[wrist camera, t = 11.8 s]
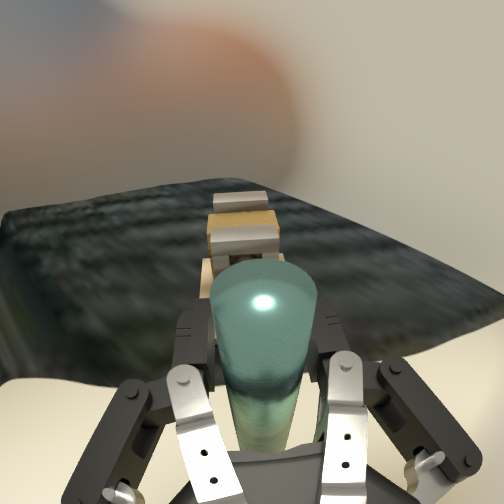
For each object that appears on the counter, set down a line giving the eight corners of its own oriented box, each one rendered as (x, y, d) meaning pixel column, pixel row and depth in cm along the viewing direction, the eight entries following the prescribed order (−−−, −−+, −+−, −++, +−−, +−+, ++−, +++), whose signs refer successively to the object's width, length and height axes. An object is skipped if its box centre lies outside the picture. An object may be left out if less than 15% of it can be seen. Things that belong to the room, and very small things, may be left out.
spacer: (277, 298, 34) (279, 229, 29) (216, 302, 34) (206, 233, 28) (272, 276, 37) (273, 210, 32) (216, 279, 37) (208, 214, 32)
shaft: (288, 462, 16) (329, 325, 8) (241, 466, 16) (207, 336, 7) (262, 292, 31) (261, 146, 22) (231, 295, 30) (219, 148, 22)
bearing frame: (302, 337, 30) (313, 252, 24) (198, 345, 30) (178, 261, 24) (282, 259, 42) (284, 186, 36) (203, 264, 41) (193, 191, 35)
